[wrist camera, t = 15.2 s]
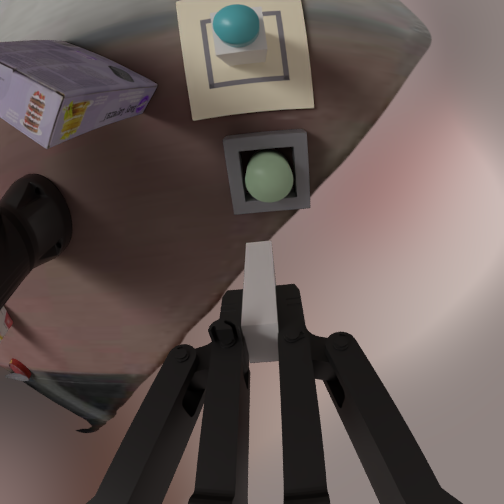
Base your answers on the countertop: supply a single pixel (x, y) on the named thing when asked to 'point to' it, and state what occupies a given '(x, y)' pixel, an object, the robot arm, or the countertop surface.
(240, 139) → the button box
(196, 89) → the cream square mat
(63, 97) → the cake pan box
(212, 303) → the countertop surface
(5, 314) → the ink cartridge box
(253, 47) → the teal capped white bottle
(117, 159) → the countertop surface
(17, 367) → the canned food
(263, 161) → the button
